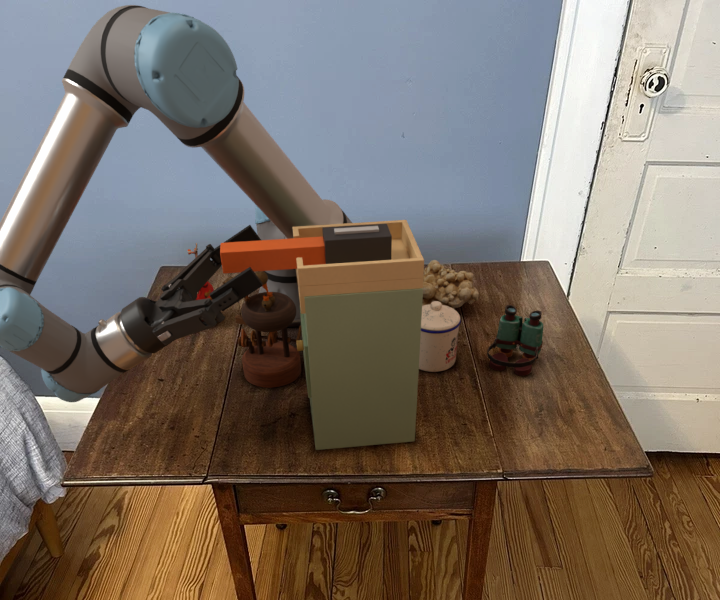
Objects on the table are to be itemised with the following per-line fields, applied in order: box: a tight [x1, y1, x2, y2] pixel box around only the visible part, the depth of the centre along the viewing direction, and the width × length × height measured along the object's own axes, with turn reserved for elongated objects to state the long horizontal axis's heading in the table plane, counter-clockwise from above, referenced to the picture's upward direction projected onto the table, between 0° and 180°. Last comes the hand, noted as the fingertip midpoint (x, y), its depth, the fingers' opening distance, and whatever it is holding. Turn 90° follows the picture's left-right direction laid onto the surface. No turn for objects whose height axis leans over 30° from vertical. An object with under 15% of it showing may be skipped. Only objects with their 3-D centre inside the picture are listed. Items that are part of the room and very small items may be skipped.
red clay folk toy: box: [186, 242, 217, 322], centre depth 134 cm, size 8×7×15 cm
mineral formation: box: [422, 259, 480, 310], centre depth 139 cm, size 8×13×15 cm
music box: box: [222, 271, 302, 389], centre depth 119 cm, size 15×11×20 cm
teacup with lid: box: [419, 301, 462, 373], centre depth 124 cm, size 12×9×12 cm
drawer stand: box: [292, 219, 425, 451], centre depth 103 cm, size 14×18×30 cm
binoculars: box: [486, 304, 544, 377], centre depth 122 cm, size 9×11×10 cm
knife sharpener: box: [220, 224, 392, 275], centre depth 93 cm, size 4×23×4 cm, turn 97°
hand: (256, 253), depth 92 cm, fingers open, 13 cm apart
